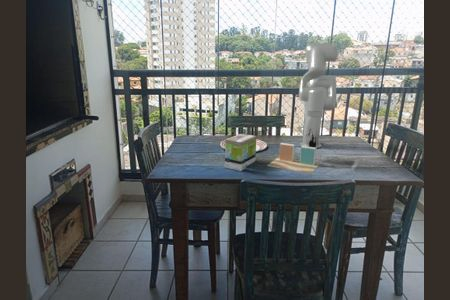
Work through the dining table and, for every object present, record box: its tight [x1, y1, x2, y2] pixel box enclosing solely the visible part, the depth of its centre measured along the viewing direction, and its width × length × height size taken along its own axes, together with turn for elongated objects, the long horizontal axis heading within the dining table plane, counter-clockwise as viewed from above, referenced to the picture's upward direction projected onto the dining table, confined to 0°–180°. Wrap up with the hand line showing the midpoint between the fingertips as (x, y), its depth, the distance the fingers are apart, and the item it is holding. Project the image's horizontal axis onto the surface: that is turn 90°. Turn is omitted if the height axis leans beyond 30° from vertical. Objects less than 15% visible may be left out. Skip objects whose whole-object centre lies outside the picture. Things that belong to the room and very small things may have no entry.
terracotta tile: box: [278, 142, 296, 162], centre depth 166 cm, size 2×7×8 cm, turn 60°
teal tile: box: [299, 146, 317, 165], centre depth 161 cm, size 2×7×8 cm, turn 60°
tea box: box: [224, 133, 257, 172], centre depth 161 cm, size 15×10×15 cm, turn 148°
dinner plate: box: [220, 138, 268, 153], centre depth 191 cm, size 28×27×3 cm
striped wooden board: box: [266, 156, 320, 175], centre depth 161 cm, size 16×22×1 cm
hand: (312, 149), depth 166 cm, fingers closed
